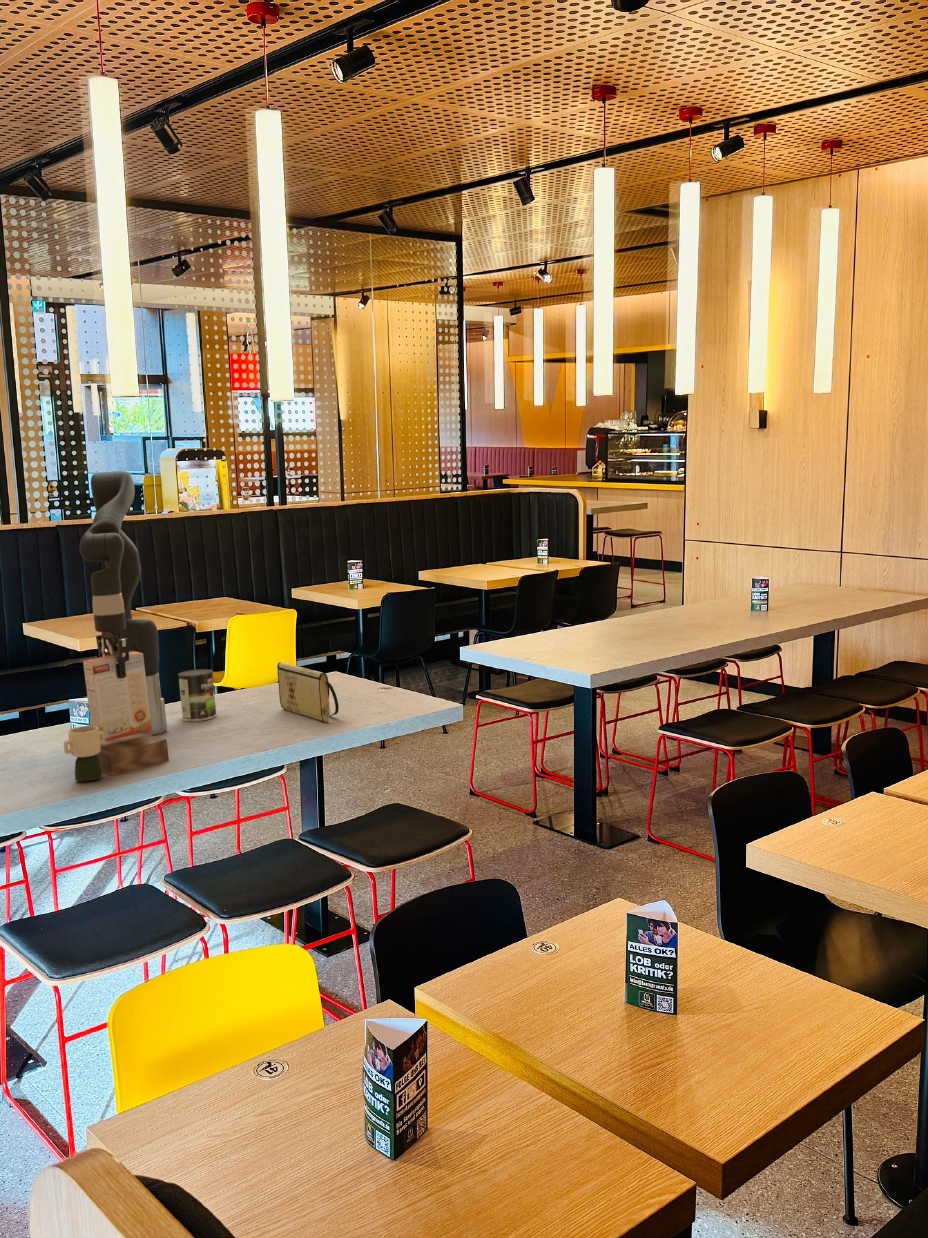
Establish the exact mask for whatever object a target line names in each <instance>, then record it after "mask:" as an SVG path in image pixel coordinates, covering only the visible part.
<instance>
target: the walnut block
mask: <svg viewBox="0 0 928 1238" xmlns="http://www.w3.org/2000/svg"><path fill="white" fill-rule="evenodd" d="M100 746H101V750H100V752H99V753H98V754H96V756H97V757H98V760H99V764H100V768H101V772H102V774H106V775H107V776H111V777H114V776H118V775H122V774H126V773H128V772H132V771H137V770H139V769H142V768H147V767H150V766H153V765H157V764H160V763H164V762H167V761H170V759H169V749H168V740H167V738H163V737H159V736H156V735H148V734H144V733H138V734H134V735H129V736H125V737H121V738H117V739H113V740H109V741H105V743H104V744H102V745H100Z"/></svg>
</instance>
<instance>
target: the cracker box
mask: <svg viewBox="0 0 928 1238" xmlns="http://www.w3.org/2000/svg"><path fill="white" fill-rule="evenodd" d="M124 655H125V653H124ZM117 657H118V655H117ZM82 663H83V664H82V665H83V672H84V680H85V681H84V682H85V686H86V687H85V689H86V695H87V703H88V711H89V719H90V720H89V721H90V726H97V727H98V728H99V732H101V731H103V732H104V734H105V741H109V740H113V739H117V738H121V737H125V736H129V735H134V734H138V733H142V732H146V731H150V730H152V729H151V720H150V711H149V701H148V693H147V684H146V675H145V666H144V657H143V653H139V651H129V661H126V663H125V669H126V677H125V678H117V673H116V663H115V660H114V657H113V656H105V657H97V658H90V659H84V660H83V661H82ZM99 737H100V741H101V736H99Z"/></svg>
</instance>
